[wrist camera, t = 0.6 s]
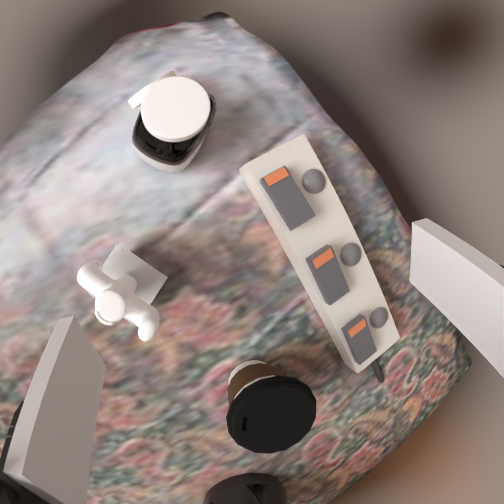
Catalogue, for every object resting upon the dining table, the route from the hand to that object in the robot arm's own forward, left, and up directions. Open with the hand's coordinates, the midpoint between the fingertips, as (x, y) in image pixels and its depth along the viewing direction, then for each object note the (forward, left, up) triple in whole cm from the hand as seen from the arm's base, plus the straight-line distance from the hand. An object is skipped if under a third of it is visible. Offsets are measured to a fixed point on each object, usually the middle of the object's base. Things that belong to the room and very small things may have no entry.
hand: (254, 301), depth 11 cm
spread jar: (+16, -5, -31) cm, 35 cm away
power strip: (-15, -15, -31) cm, 37 cm away
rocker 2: (-22, -12, -25) cm, 36 cm away
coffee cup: (-20, +3, -31) cm, 37 cm away
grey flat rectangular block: (0, -12, -25) cm, 28 cm away
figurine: (+1, +9, -31) cm, 32 cm away
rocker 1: (-11, -12, -25) cm, 30 cm away
